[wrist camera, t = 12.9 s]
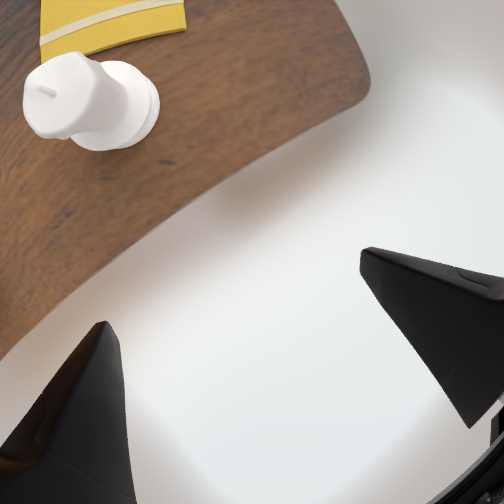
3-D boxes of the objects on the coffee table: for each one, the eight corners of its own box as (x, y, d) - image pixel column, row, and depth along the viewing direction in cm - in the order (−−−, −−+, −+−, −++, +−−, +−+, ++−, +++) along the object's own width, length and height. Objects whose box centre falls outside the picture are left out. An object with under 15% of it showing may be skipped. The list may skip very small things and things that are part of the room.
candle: (68, 126, 14) (-46, 147, 4) (113, 58, 13) (47, -18, 3) (130, 162, 17) (78, 227, 6) (176, 95, 16) (191, 50, 5)
